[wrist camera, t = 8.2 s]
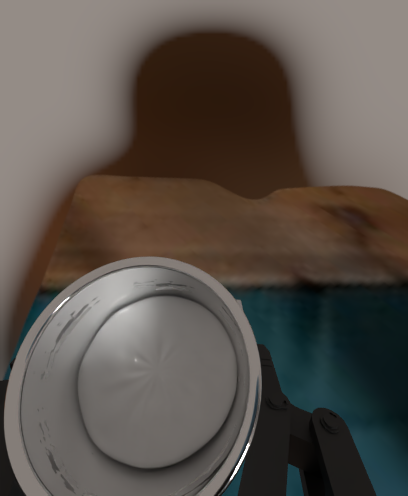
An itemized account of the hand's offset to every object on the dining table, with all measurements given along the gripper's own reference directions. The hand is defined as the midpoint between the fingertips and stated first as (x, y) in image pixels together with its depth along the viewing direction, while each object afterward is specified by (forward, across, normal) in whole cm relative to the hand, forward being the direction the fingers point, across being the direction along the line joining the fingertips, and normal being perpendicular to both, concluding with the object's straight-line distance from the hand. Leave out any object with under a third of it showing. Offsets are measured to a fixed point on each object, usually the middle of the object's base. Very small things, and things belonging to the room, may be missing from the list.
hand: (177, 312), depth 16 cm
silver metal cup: (+2, 0, -6) cm, 7 cm away
